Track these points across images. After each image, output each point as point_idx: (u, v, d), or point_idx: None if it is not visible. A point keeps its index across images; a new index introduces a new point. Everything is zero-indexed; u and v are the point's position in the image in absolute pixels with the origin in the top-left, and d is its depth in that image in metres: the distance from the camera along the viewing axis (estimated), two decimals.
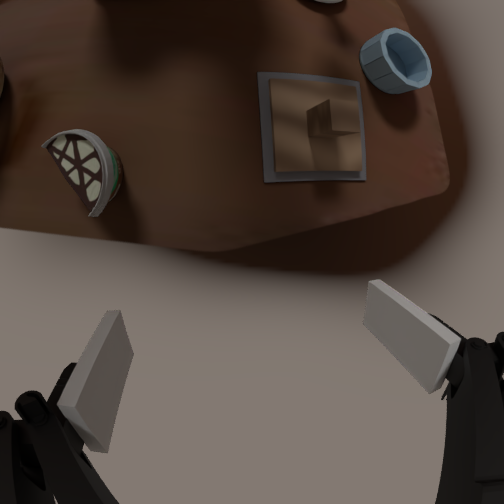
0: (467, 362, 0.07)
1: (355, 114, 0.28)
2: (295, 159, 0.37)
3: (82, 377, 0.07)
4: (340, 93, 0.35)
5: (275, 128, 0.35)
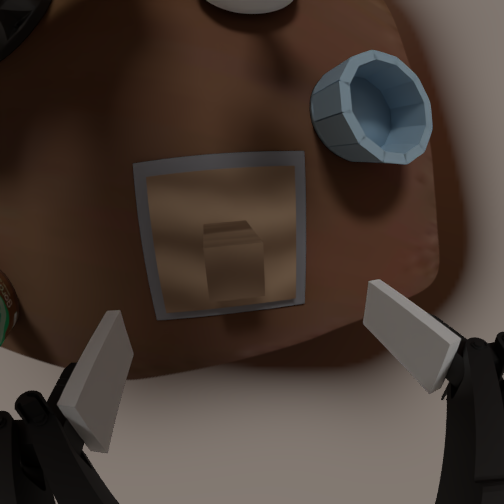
0: (467, 361, 0.07)
1: (256, 266, 0.19)
2: (190, 296, 0.27)
3: (82, 377, 0.07)
4: (264, 182, 0.25)
5: (158, 256, 0.26)
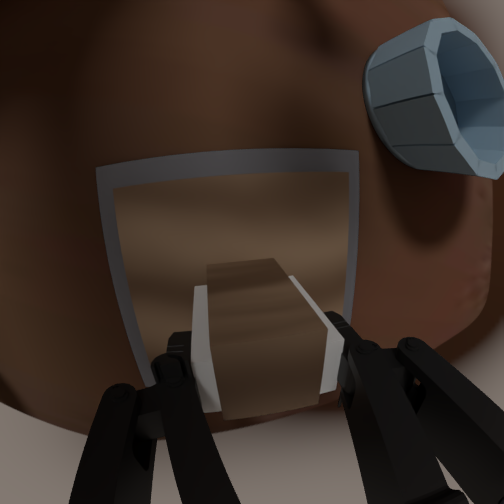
0: (356, 371, 0.08)
1: (311, 367, 0.09)
2: None
3: (205, 337, 0.10)
4: (303, 198, 0.16)
5: (138, 312, 0.16)
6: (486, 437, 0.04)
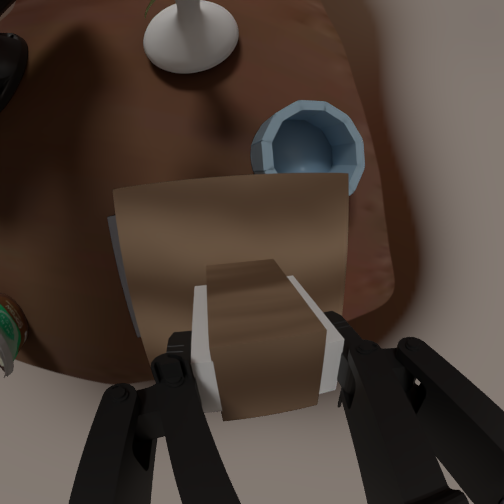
0: (356, 371, 0.08)
1: (310, 368, 0.09)
2: None
3: (205, 338, 0.10)
4: (303, 199, 0.16)
5: (137, 312, 0.16)
6: (486, 437, 0.04)
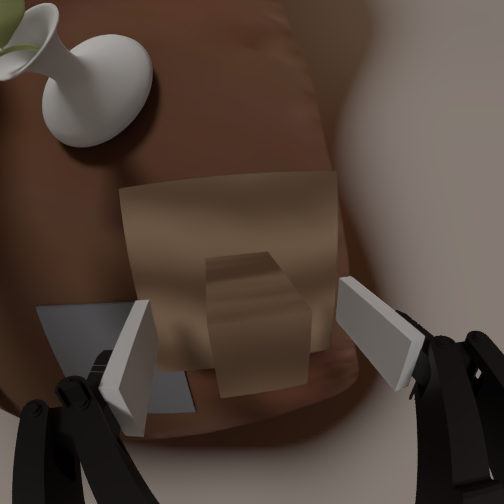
0: (433, 362, 0.07)
1: (298, 347, 0.11)
2: (189, 353, 0.19)
3: (121, 361, 0.08)
4: (294, 196, 0.17)
5: None
6: None
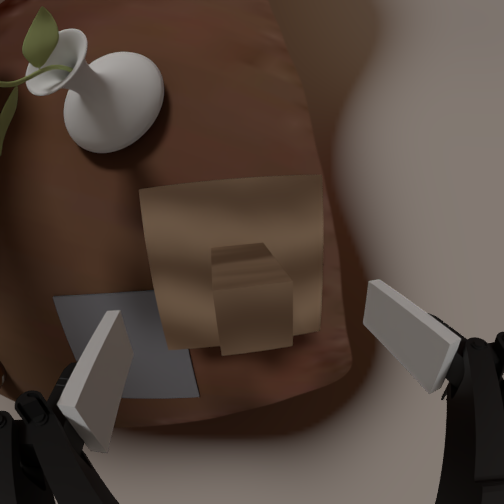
0: (467, 362, 0.07)
1: (283, 311, 0.14)
2: (196, 332, 0.23)
3: (82, 377, 0.07)
4: (285, 196, 0.20)
5: (156, 286, 0.21)
6: None
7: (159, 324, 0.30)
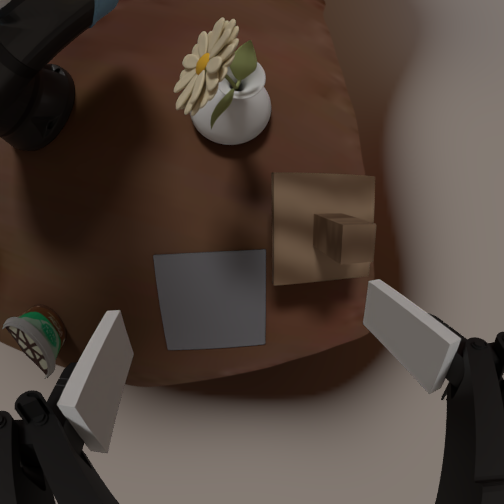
0: (467, 361, 0.07)
1: (371, 240, 0.26)
2: (295, 271, 0.35)
3: (82, 377, 0.07)
4: (355, 186, 0.33)
5: (276, 237, 0.33)
6: None
7: (247, 277, 0.42)
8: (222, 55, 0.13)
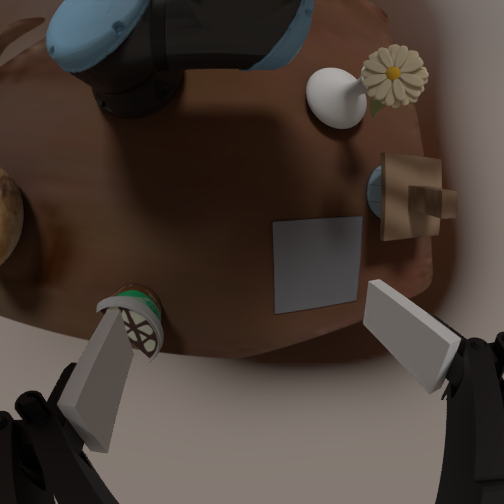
0: (467, 361, 0.07)
1: (455, 202, 0.32)
2: (397, 229, 0.40)
3: (82, 377, 0.07)
4: (431, 166, 0.38)
5: (386, 202, 0.38)
6: None
7: (348, 240, 0.48)
8: (415, 75, 0.18)
